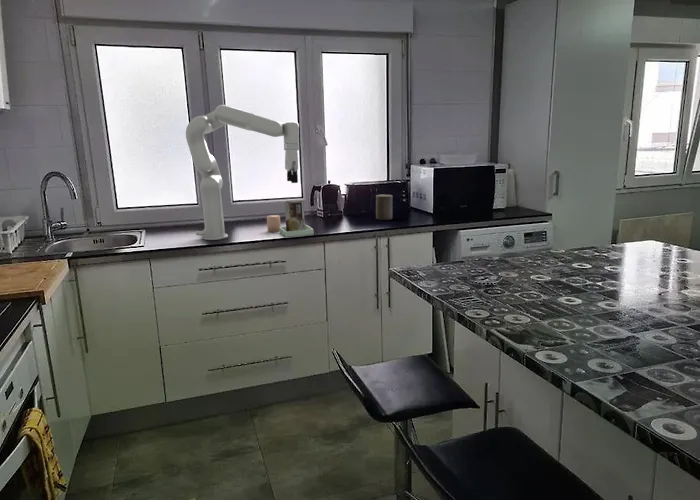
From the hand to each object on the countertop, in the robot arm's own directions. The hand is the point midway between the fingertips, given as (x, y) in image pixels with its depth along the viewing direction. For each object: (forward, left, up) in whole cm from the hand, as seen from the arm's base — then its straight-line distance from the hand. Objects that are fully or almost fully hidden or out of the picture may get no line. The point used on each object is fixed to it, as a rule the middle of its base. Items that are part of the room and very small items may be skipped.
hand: (292, 181), depth 257 cm
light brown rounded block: (-8, +14, -27) cm, 31 cm away
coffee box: (0, 0, -26) cm, 26 cm away
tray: (+1, 0, -27) cm, 27 cm away
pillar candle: (+59, +22, -27) cm, 68 cm away
